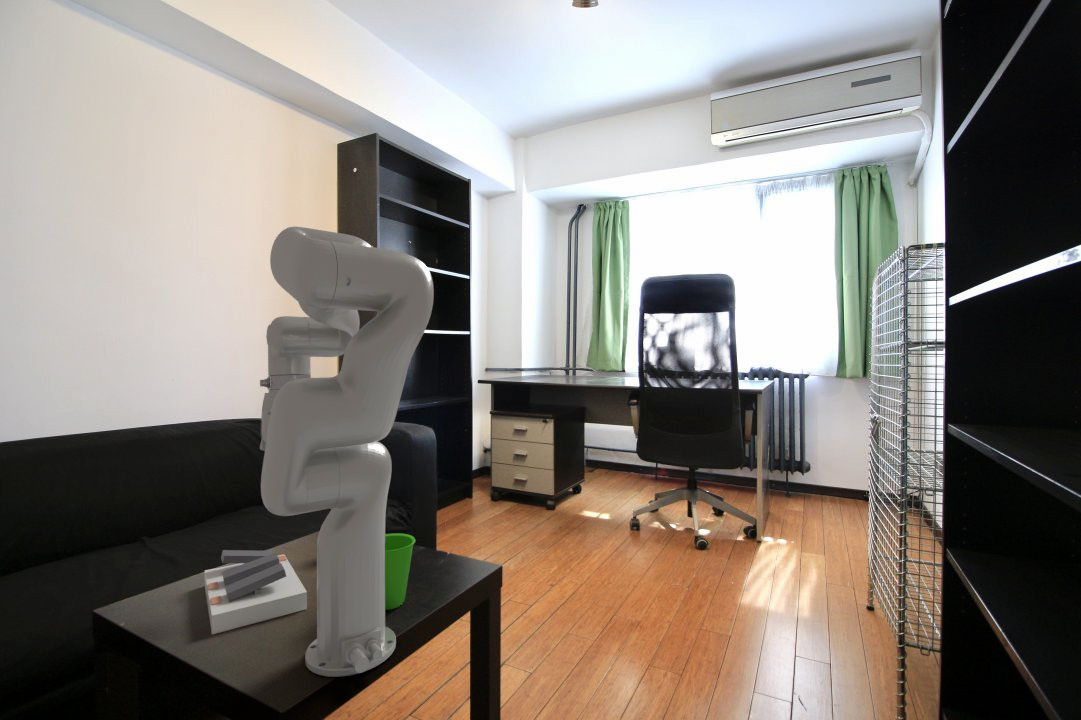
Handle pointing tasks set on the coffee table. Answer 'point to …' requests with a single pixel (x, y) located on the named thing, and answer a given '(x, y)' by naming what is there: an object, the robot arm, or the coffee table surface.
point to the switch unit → (252, 599)
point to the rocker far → (242, 556)
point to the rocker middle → (249, 568)
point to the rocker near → (255, 582)
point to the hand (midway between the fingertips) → (291, 478)
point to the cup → (397, 568)
